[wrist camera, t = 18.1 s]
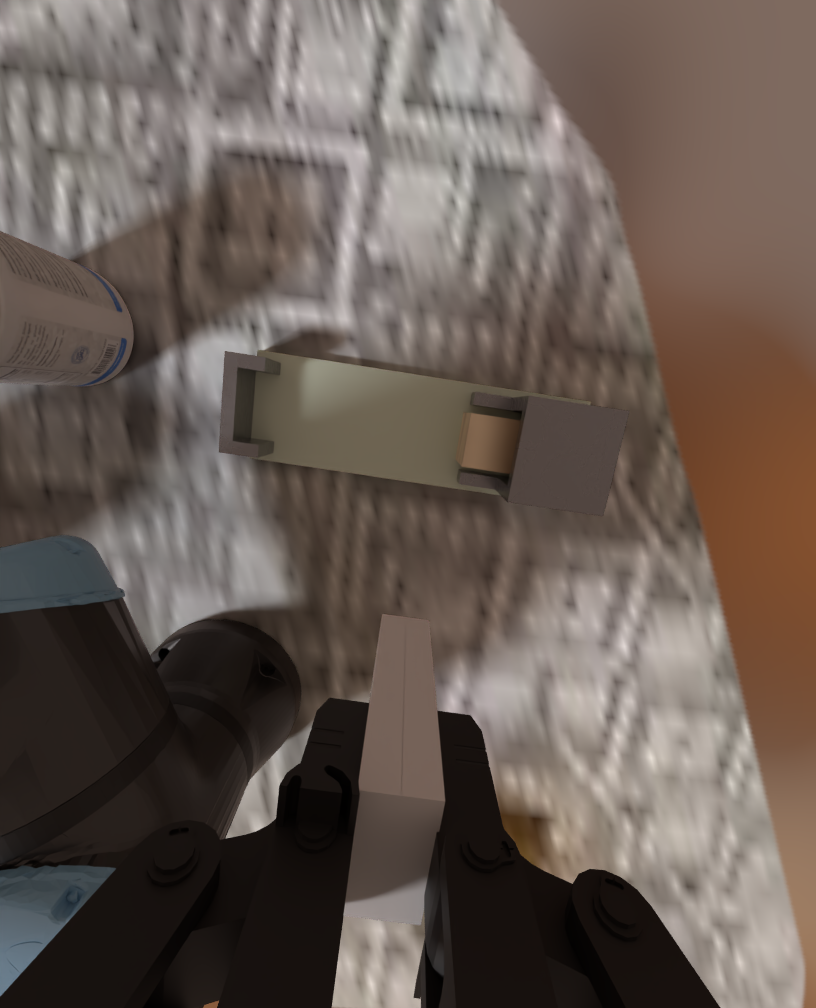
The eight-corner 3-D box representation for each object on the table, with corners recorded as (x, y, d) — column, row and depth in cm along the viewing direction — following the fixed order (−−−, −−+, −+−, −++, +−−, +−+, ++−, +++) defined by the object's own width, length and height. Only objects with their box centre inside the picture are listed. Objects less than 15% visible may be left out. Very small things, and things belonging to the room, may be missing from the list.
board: (253, 456, 39) (249, 458, 38) (261, 351, 37) (257, 349, 36) (563, 503, 40) (567, 505, 39) (586, 401, 38) (591, 401, 37)
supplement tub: (11, 272, 36) (-252, 181, 22) (125, 261, 36) (-65, 162, 22) (42, 394, 38) (-181, 384, 24) (150, 384, 38) (-8, 369, 24)
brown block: (556, 426, 37) (578, 429, 33) (546, 472, 38) (566, 482, 33) (463, 412, 37) (471, 413, 32) (455, 459, 38) (461, 466, 33)
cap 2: (456, 480, 38) (466, 495, 32) (471, 392, 37) (485, 388, 30) (569, 497, 39) (603, 516, 32) (589, 410, 37) (629, 411, 30)
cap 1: (238, 447, 38) (218, 452, 34) (244, 357, 36) (224, 351, 33) (273, 452, 38) (257, 457, 34) (281, 362, 36) (265, 357, 33)
